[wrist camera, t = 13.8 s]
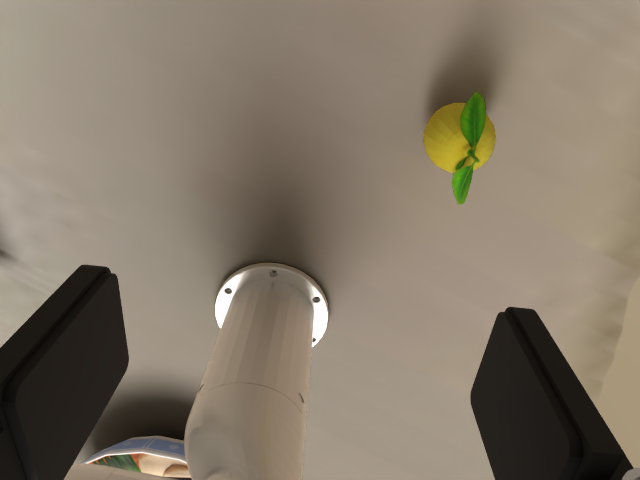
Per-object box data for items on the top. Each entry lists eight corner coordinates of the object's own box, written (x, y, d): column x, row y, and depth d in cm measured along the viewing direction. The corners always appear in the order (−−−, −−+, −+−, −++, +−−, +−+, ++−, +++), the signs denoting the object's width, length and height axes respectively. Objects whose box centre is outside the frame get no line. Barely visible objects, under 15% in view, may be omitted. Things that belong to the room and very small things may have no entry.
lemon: (441, 175, 43) (468, 221, 34) (399, 133, 41) (415, 170, 32) (500, 124, 40) (544, 159, 32) (457, 76, 39) (492, 99, 30)
